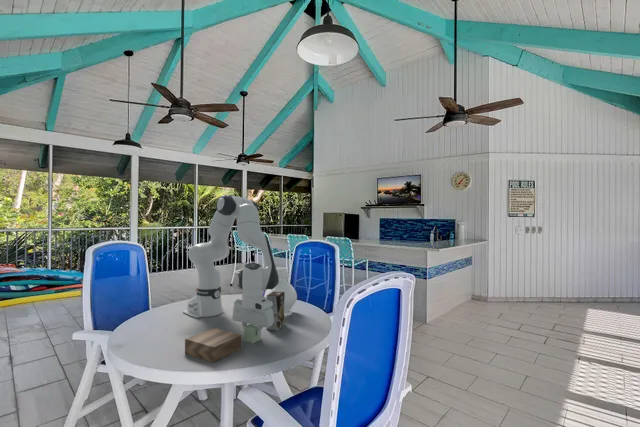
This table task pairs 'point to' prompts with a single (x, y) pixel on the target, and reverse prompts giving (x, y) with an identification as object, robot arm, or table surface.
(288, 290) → the decorative vase
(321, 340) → the table surface
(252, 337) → the sage block
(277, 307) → the coffee box
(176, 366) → the table surface
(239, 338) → the walnut block
